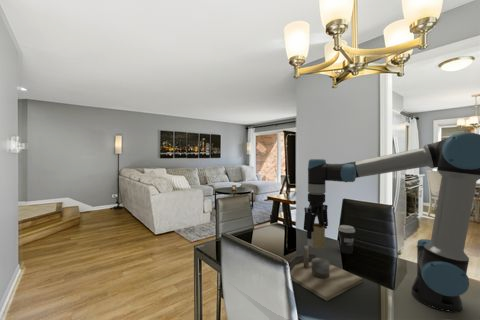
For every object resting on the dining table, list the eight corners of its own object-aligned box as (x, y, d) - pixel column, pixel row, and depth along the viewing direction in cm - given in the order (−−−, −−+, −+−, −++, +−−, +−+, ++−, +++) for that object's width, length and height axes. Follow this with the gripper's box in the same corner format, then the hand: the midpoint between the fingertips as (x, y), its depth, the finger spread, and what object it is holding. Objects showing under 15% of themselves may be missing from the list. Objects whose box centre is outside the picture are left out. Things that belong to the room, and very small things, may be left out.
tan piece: (327, 245, 103) (327, 225, 103) (317, 249, 99) (317, 228, 99) (314, 241, 109) (314, 222, 109) (304, 244, 105) (304, 224, 105)
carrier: (362, 281, 105) (362, 255, 105) (326, 301, 90) (326, 270, 90) (313, 259, 128) (313, 237, 128) (278, 272, 113) (278, 247, 113)
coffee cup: (339, 254, 135) (339, 228, 135) (336, 248, 144) (336, 224, 144) (357, 255, 133) (357, 229, 133) (353, 249, 142) (353, 225, 142)
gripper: (322, 190, 113) (322, 237, 113) (295, 193, 101) (294, 245, 101) (336, 192, 107) (336, 241, 107) (308, 196, 95) (308, 251, 95)
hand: (315, 243), depth 104 cm, fingers closed on tan piece, 7 cm apart
